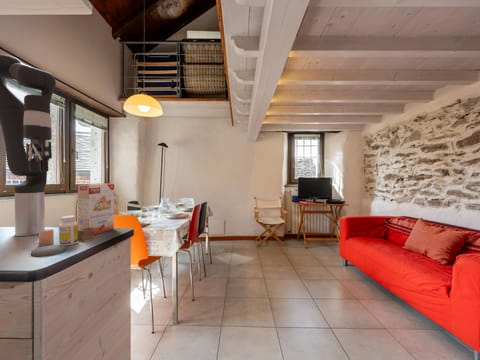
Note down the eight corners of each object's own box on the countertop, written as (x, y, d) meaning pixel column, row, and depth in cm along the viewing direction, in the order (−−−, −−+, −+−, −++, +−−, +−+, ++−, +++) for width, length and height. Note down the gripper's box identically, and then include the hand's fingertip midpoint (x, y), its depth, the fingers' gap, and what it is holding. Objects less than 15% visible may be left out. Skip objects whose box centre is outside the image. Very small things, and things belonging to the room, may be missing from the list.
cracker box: (89, 237, 93) (89, 184, 93) (76, 236, 95) (76, 184, 94) (115, 229, 107) (114, 183, 107) (103, 228, 108) (103, 183, 108)
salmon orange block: (36, 245, 82) (36, 231, 82) (50, 242, 86) (49, 228, 86) (42, 246, 81) (42, 232, 80) (56, 243, 84) (56, 229, 84)
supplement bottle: (74, 240, 88) (74, 214, 88) (80, 243, 85) (80, 216, 85) (56, 244, 84) (56, 216, 83) (62, 246, 81) (62, 218, 80)
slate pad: (25, 253, 73) (25, 250, 73) (56, 246, 81) (56, 243, 81) (40, 258, 70) (40, 254, 70) (71, 250, 77) (71, 246, 77)
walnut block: (77, 240, 89) (77, 230, 89) (87, 237, 92) (87, 227, 92) (83, 241, 87) (83, 231, 87) (94, 239, 91) (94, 228, 91)
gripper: (16, 126, 84) (17, 171, 84) (32, 121, 76) (34, 171, 77) (42, 129, 90) (43, 171, 90) (59, 125, 83) (60, 171, 83)
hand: (39, 171), depth 84 cm, fingers open, 8 cm apart
